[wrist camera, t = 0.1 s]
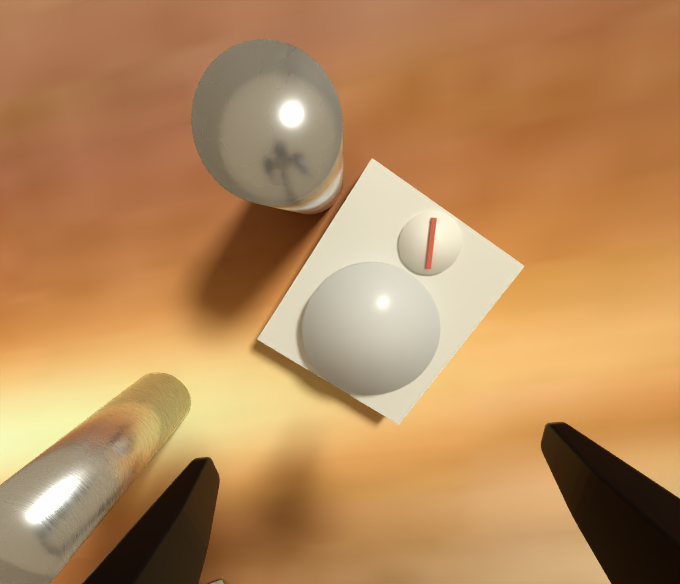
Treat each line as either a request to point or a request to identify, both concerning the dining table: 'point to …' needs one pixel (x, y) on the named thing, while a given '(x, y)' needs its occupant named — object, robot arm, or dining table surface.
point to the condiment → (218, 582)
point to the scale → (388, 294)
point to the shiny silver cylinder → (83, 478)
